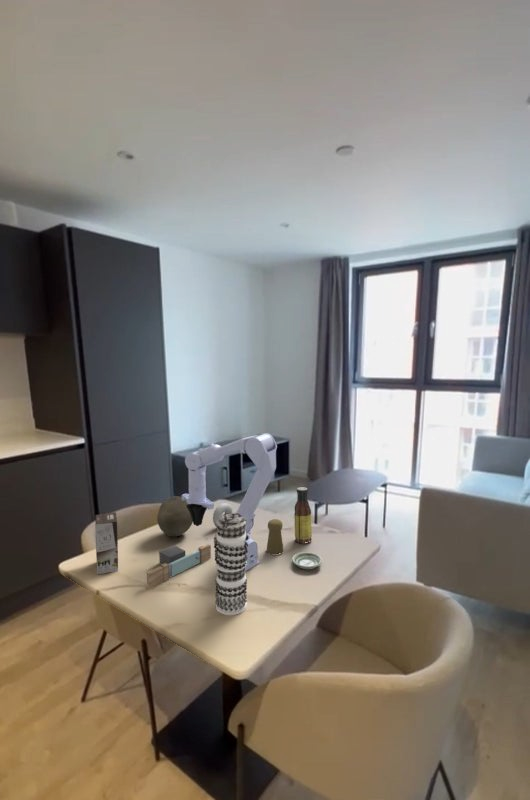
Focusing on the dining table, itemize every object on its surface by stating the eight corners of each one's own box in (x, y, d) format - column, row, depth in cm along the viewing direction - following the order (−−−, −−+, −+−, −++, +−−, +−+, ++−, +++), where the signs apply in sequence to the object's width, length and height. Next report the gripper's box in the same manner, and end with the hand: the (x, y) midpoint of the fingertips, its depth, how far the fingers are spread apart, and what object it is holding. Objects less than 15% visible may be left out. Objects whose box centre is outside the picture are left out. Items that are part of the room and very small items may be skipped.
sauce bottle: (314, 539, 144) (315, 487, 143) (306, 546, 139) (307, 492, 137) (298, 535, 148) (299, 484, 146) (291, 541, 143) (291, 489, 141)
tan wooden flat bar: (211, 558, 130) (211, 544, 130) (149, 589, 112) (149, 573, 111) (207, 556, 131) (207, 543, 131) (146, 587, 113) (146, 571, 112)
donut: (217, 532, 150) (216, 507, 149) (210, 530, 152) (210, 505, 151) (234, 524, 158) (234, 501, 157) (228, 522, 160) (228, 499, 159)
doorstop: (185, 562, 127) (185, 550, 127) (170, 569, 123) (169, 557, 123) (174, 556, 131) (174, 545, 131) (159, 563, 127) (159, 551, 127)
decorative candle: (224, 592, 110) (223, 507, 108) (253, 599, 107) (254, 512, 105) (207, 610, 102) (206, 519, 100) (238, 619, 99) (239, 525, 96)
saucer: (299, 555, 132) (299, 549, 132) (326, 563, 128) (326, 556, 127) (286, 568, 124) (286, 561, 124) (314, 576, 119) (314, 569, 119)
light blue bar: (201, 563, 126) (201, 551, 126) (170, 579, 117) (170, 566, 116) (197, 562, 127) (197, 549, 127) (166, 577, 118) (166, 564, 117)
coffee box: (118, 571, 122) (117, 521, 120) (96, 575, 119) (94, 524, 118) (117, 557, 130) (116, 511, 129) (97, 561, 128) (95, 514, 126)
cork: (278, 556, 131) (278, 525, 130) (263, 552, 134) (263, 521, 134) (286, 549, 136) (286, 519, 135) (271, 545, 140) (272, 515, 139)
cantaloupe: (150, 535, 147) (149, 497, 146) (183, 525, 157) (182, 489, 155) (168, 548, 137) (167, 507, 135) (202, 536, 146) (201, 498, 145)
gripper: (174, 484, 134) (175, 522, 135) (202, 493, 125) (202, 534, 126) (190, 480, 139) (190, 516, 140) (218, 488, 130) (218, 527, 131)
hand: (197, 524), depth 133 cm, fingers closed
